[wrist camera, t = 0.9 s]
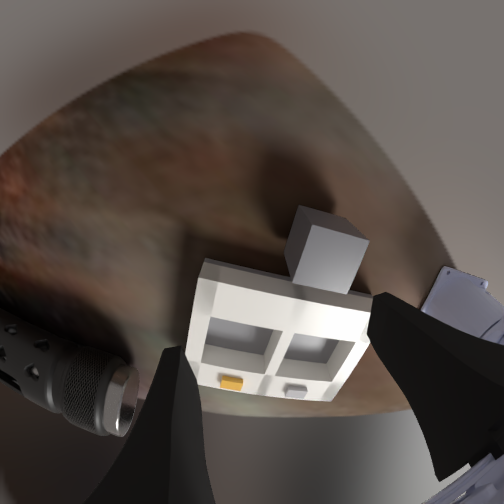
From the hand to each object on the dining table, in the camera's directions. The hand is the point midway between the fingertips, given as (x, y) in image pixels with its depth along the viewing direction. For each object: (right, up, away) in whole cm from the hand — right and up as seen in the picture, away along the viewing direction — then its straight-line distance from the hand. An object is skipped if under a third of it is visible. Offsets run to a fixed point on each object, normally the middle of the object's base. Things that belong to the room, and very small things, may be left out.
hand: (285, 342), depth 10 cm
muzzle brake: (-27, -7, +18) cm, 34 cm away
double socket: (+1, -4, +17) cm, 18 cm away
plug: (+4, +5, +13) cm, 15 cm away
